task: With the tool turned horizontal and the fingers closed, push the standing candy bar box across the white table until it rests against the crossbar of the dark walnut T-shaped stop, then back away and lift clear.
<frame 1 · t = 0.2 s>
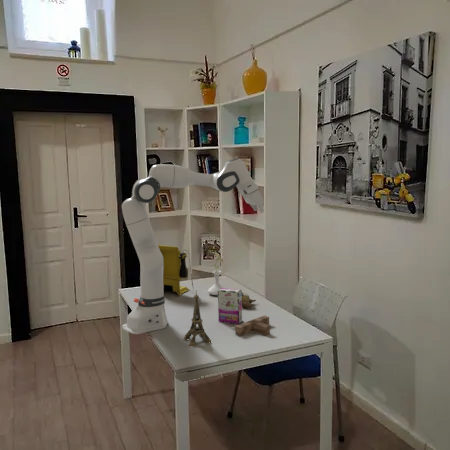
hand: (259, 211, 231), 54 cm above the table, fingers open, 8 cm apart
flower in vase: (217, 293, 274), on the table
vintage telephone: (175, 292, 278), on the table
walnut T stop: (252, 329, 215), on the table
eiffel tower: (197, 341, 204), on the table
candy bar box: (230, 321, 227), on the table
ceramic sculpture: (241, 306, 250), on the table
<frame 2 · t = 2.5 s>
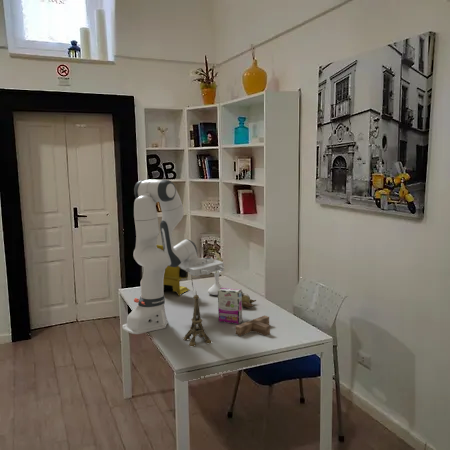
hand: (216, 271, 230), 24 cm above the table, fingers open, 8 cm apart
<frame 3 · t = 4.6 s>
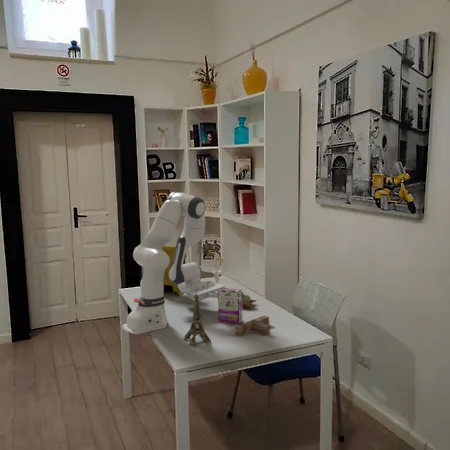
hand: (217, 295, 233), 11 cm above the table, fingers closed
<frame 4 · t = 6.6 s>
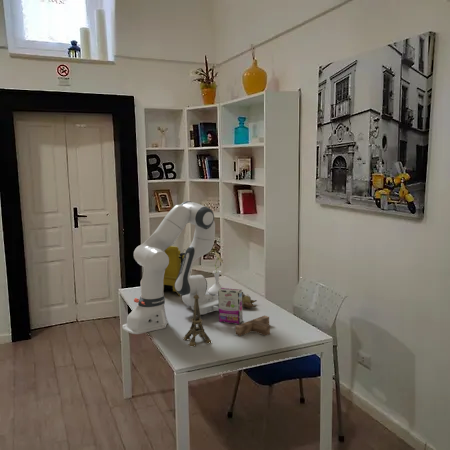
hand: (222, 309, 230), 5 cm above the table, fingers closed
candy bar box: (230, 321, 226), on the table, touching gripper
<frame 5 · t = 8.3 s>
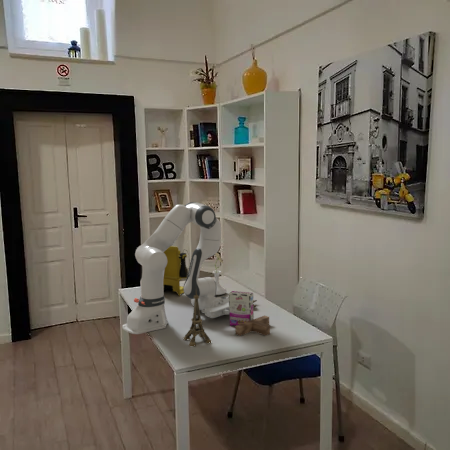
hand: (233, 312, 224), 5 cm above the table, fingers closed
candy bar box: (241, 325, 221), on the table, touching gripper, walnut T stop
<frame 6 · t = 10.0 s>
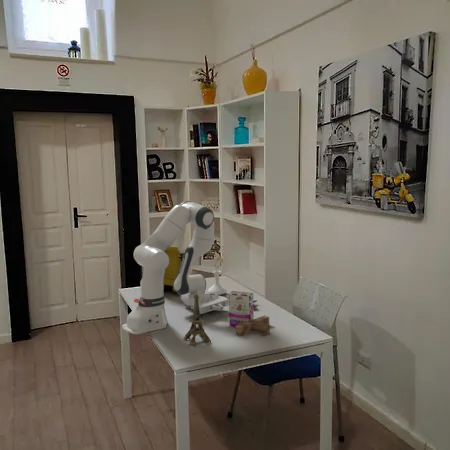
hand: (221, 308, 231), 5 cm above the table, fingers closed
candy bar box: (241, 325, 221), on the table
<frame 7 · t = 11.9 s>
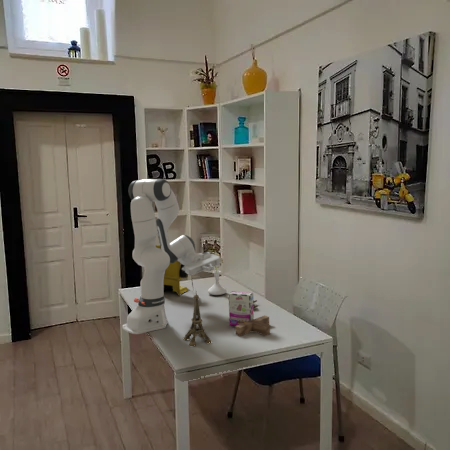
hand: (211, 269, 231), 25 cm above the table, fingers closed
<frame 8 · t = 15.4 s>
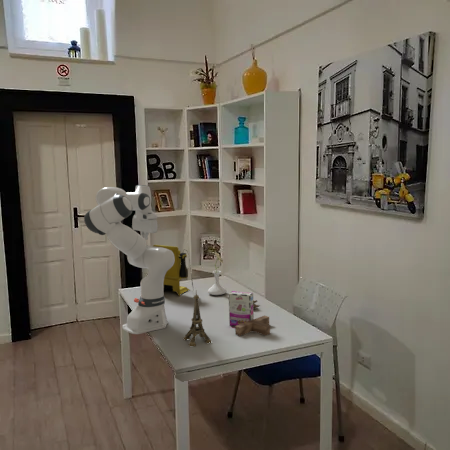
hand: (145, 239, 250), 37 cm above the table, fingers closed
at the end: candy bar box inside the target area on the walnut T stop (0.3 cm from its centre), point 0.0 cm above the walnut T stop's base; candy bar box tilted 0° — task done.
